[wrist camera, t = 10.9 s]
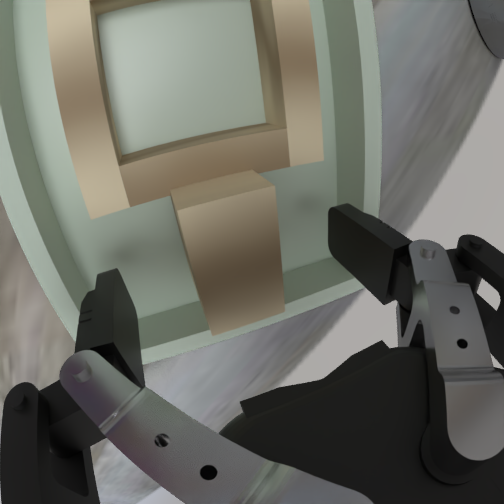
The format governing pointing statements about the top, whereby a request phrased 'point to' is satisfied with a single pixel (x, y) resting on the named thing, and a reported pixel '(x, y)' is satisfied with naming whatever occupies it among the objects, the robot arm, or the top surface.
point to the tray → (176, 128)
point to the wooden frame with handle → (199, 155)
